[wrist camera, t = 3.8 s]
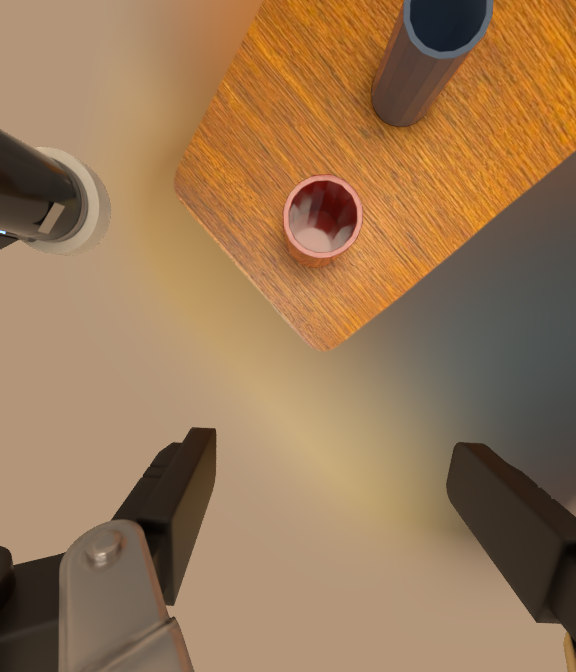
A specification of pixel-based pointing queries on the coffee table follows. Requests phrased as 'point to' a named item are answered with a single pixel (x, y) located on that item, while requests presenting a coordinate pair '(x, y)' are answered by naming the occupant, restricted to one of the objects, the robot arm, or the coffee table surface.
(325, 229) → the red cup
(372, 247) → the coffee table surface
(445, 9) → the blue cup
